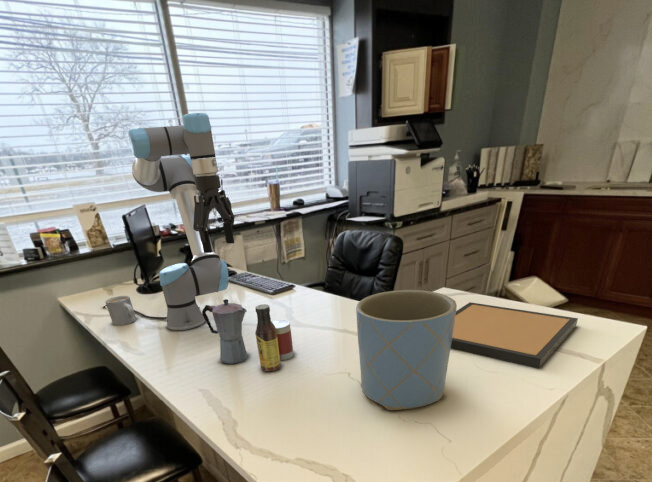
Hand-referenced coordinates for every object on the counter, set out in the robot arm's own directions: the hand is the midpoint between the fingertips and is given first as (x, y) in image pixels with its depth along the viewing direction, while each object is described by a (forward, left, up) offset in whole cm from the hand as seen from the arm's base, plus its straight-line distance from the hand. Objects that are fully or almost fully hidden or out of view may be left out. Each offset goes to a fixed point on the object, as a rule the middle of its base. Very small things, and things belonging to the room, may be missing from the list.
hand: (219, 247), depth 135 cm
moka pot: (+9, -17, -32) cm, 37 cm away
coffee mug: (-60, +7, -32) cm, 69 cm away
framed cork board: (+89, +17, -32) cm, 96 cm away
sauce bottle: (+25, -21, -32) cm, 46 cm away
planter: (+66, -26, -32) cm, 77 cm away
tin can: (+25, -12, -32) cm, 42 cm away
